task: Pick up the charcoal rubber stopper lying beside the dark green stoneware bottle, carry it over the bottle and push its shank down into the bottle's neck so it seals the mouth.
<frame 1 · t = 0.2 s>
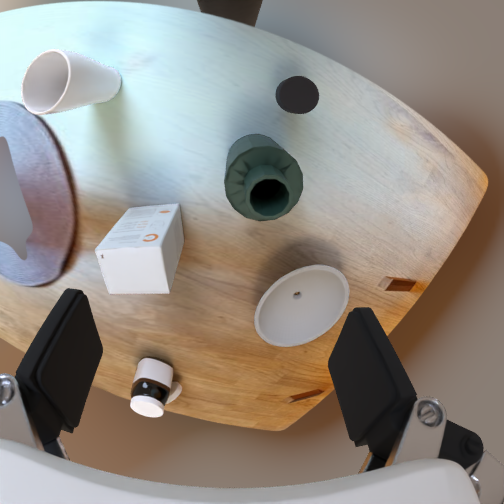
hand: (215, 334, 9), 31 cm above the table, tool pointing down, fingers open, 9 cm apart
stopper: (287, 96, 33), on the table
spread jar: (161, 370, 57), on the table
bottle: (255, 161, 37), on the table
dish: (296, 291, 48), on the table
small box: (157, 224, 41), on the table
white cup: (106, 84, 30), on the table
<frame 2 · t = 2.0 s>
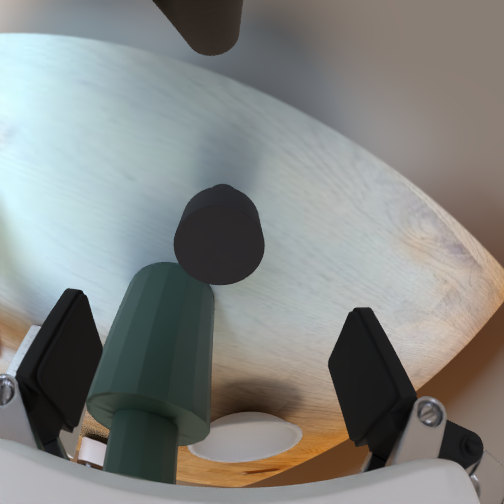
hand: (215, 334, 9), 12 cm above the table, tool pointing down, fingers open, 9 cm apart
stopper: (222, 199, 20), on the table
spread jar: (107, 443, 44), on the table
bottle: (171, 298, 24), on the table
dish: (241, 415, 35), on the table
small box: (66, 345, 27), on the table
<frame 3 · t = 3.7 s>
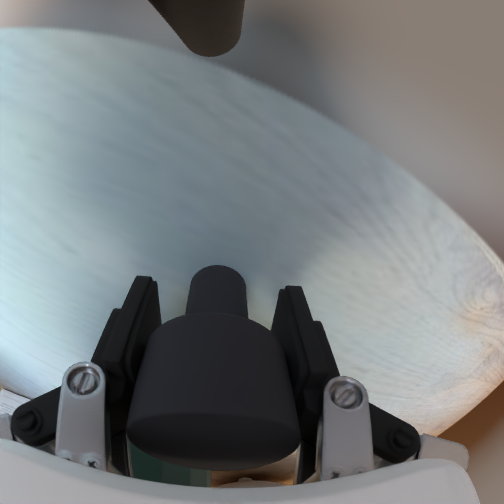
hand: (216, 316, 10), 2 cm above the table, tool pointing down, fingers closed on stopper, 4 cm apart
stopper: (218, 287, 12), on the table, touching gripper
bottle: (153, 395, 16), on the table
dish: (245, 477, 27), on the table
small box: (41, 411, 19), on the table
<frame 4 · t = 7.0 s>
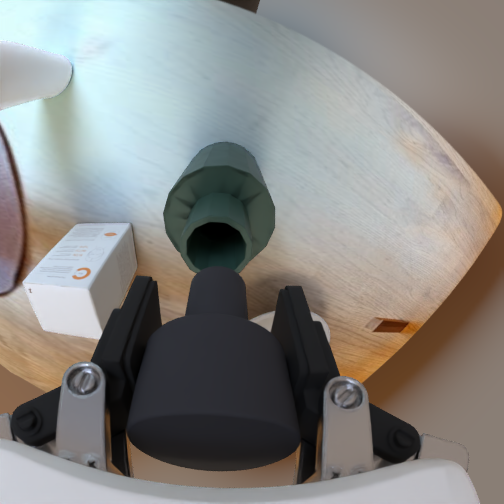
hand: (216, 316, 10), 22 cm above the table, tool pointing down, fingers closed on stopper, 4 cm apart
stopper: (218, 288, 12), point 20 cm above the table, touching gripper
bottle: (223, 176, 29), on the table
dish: (268, 330, 41), on the table
small box: (107, 244, 32), on the table
white cup: (57, 76, 21), on the table
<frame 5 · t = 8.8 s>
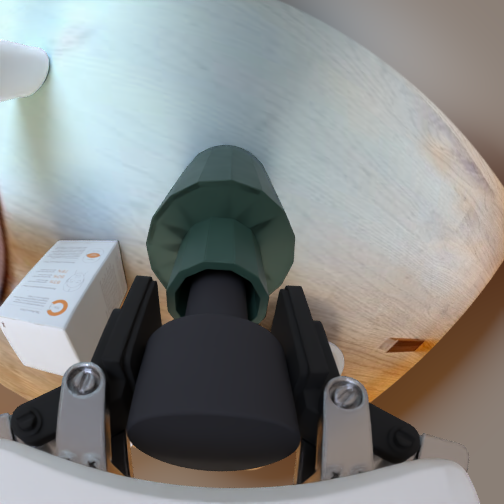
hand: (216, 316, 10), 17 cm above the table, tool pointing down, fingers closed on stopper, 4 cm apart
stopper: (218, 288, 12), point 15 cm above the table, touching gripper
bottle: (225, 186, 25), on the table
small box: (93, 263, 28), on the table
white cup: (33, 72, 17), on the table
when the fingers open (14 cm above the table, at t = 10.2 s): stopper stays where it is, resting on bottle.
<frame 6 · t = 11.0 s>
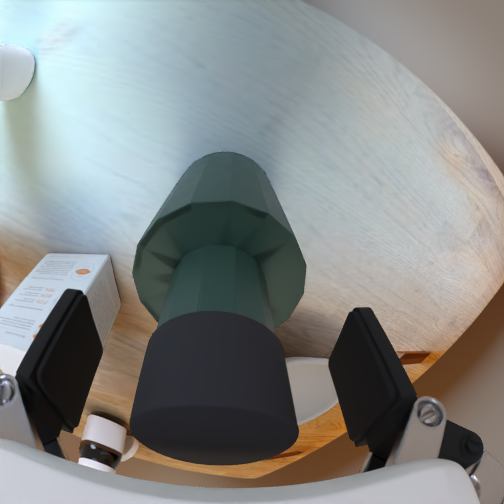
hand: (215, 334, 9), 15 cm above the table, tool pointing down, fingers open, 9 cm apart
stopper: (218, 287, 12), point 12 cm above the table, touching bottle
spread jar: (114, 424, 42), on the table
bottle: (224, 197, 22), on the table
dish: (277, 370, 34), on the table
small box: (84, 278, 26), on the table
white cup: (19, 73, 15), on the table
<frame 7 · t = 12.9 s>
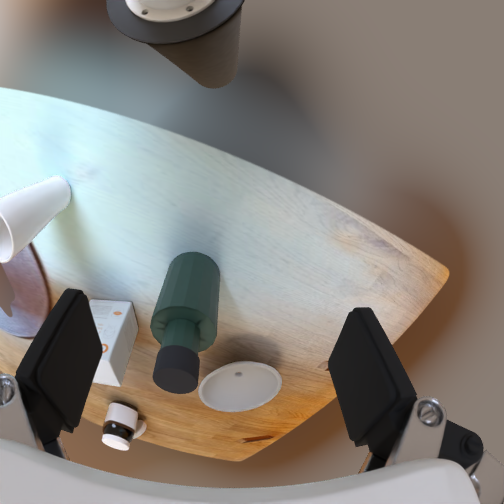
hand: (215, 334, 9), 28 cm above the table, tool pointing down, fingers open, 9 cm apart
stopper: (183, 332, 30), point 12 cm above the table, touching bottle
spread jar: (129, 410, 60), on the table
bottle: (194, 274, 41), on the table
dish: (238, 369, 52), on the table
small box: (115, 313, 44), on the table
white cup: (59, 191, 33), on the table
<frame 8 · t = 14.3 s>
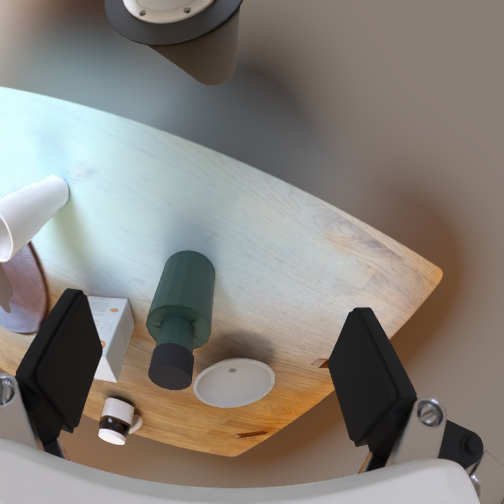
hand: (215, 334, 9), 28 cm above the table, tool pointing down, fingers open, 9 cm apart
stopper: (178, 330, 31), point 12 cm above the table, touching bottle
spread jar: (125, 405, 61), on the table
bottle: (189, 272, 41), on the table
dish: (232, 366, 53), on the table
small box: (112, 310, 44), on the table
white cup: (57, 190, 33), on the table
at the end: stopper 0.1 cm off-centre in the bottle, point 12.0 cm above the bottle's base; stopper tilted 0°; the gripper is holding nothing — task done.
